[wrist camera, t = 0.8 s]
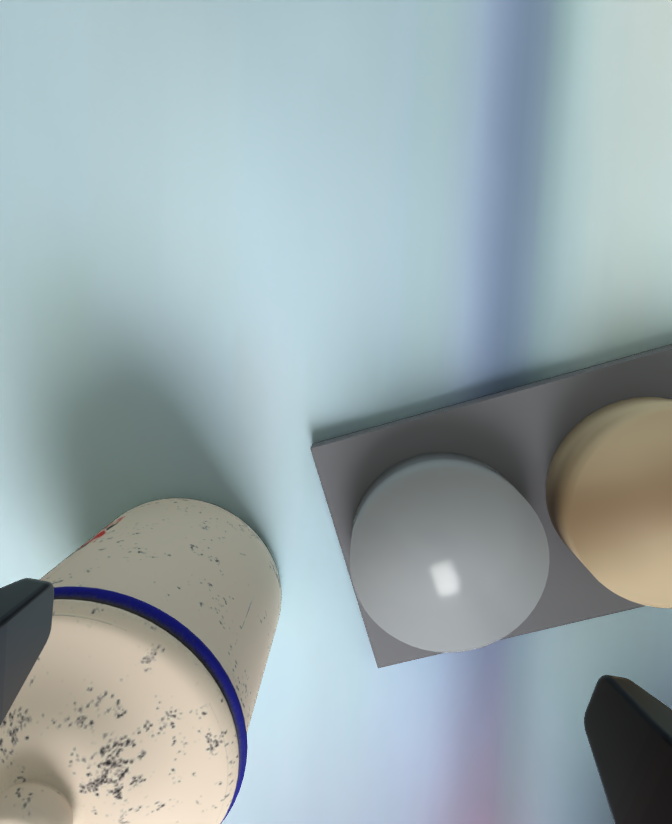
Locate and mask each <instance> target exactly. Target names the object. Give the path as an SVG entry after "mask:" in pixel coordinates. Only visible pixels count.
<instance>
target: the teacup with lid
mask: <svg viewBox="0 0 672 824" xmlns="http://www.w3.org/2000/svg"><path fill="white" fill-rule="evenodd" d="M40 580H43V581H49V582H51V583H52V584H53V587H54V601H53V614H52V626H51V632H50V635H49V638H48V640H47V643H46V645H45V646H44V648H43V650H42V652H41V654H40V655H39V657H38V659H37V661H36V663H35V665H34V666H33V668H32V670H31V672H30V674H29V675H28V677H27V679H26V681H25V683H24V684H23V686H22V688H21V690H20V692H19V693H18V695H17V697H16V699H15V701H14V702H13V704H12V706H11V708H10V710H9V711H8V713H7V715H6V717H5V719H4V720H3V722H2V724H1V726H0V824H221V823H222V822H223V820H224V819H225V818H226V816H227V815H228V813H229V811H230V809H231V808H232V806H233V804H234V802H235V800H236V797H237V795H238V793H239V790H240V787H241V784H242V780H243V777H244V772H245V766H246V759H247V731H248V727H249V724H250V720H251V716H252V713H253V709H254V706H255V702H256V699H257V695H258V691H259V688H260V684H261V681H262V677H263V673H264V670H265V666H266V663H267V659H268V656H269V652H270V648H271V645H272V641H273V638H274V634H275V631H276V627H277V623H278V620H279V615H280V610H281V585H280V579H279V575H278V571H277V568H276V565H275V563H274V560H273V558H272V556H271V554H270V552H269V551H268V549H267V547H266V546H265V544H264V543H263V542H262V540H261V539H260V537H259V536H258V535H257V534H256V533H255V532H254V531H253V530H252V529H251V528H250V527H249V526H248V525H247V524H246V523H245V522H243V521H242V520H241V519H239V518H238V517H237V516H235V515H233V514H232V513H230V512H228V511H226V510H224V509H222V508H220V507H218V506H215V505H213V504H210V503H206V502H203V501H198V500H193V499H185V498H169V499H160V500H155V501H151V502H148V503H144V504H142V505H139V506H137V507H134V508H133V509H131V510H129V511H127V512H125V513H124V514H122V515H121V516H119V517H118V518H116V519H115V520H114V521H113V522H111V523H110V524H109V525H108V526H106V527H105V528H104V529H103V530H101V531H100V532H99V533H98V534H96V535H95V536H94V537H93V538H91V539H90V540H89V541H87V542H86V543H85V544H84V545H82V546H81V547H80V548H79V549H77V550H76V551H75V552H74V553H72V554H71V555H70V556H69V557H67V558H66V559H65V560H64V561H62V562H61V563H60V564H58V565H57V566H56V567H55V568H53V569H52V570H51V571H50V572H48V573H47V574H46V575H45V576H43V577H42V578H41V579H40Z"/></svg>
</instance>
